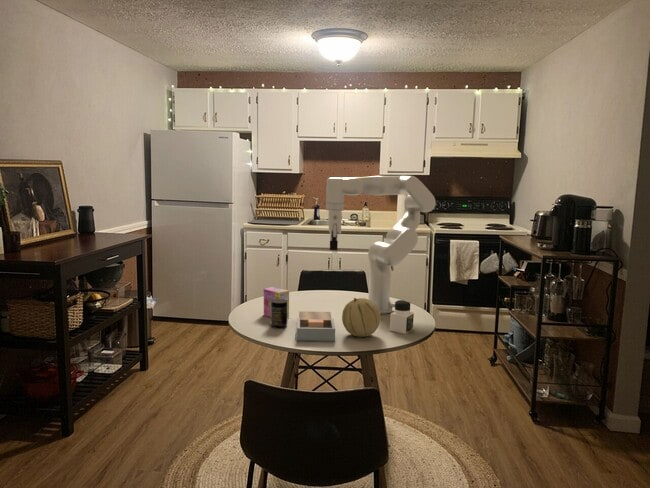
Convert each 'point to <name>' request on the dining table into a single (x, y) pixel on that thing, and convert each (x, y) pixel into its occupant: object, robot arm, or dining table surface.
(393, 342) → the dining table surface
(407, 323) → the medicine bottle
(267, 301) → the box
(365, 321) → the cantaloupe
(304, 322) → the brown flat block
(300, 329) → the tray
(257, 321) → the dining table surface
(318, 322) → the tile front
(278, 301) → the supplement container
